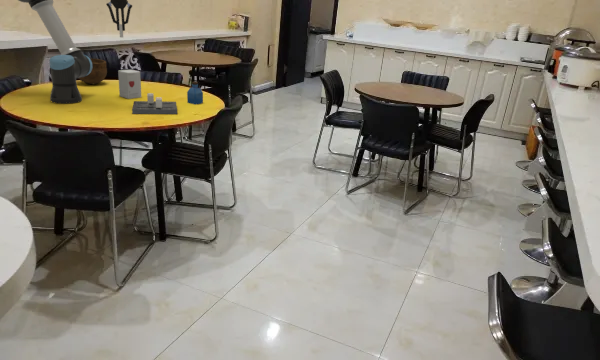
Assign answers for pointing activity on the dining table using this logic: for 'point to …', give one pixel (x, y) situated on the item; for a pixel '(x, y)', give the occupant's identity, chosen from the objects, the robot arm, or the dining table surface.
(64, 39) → the robot arm
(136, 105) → the console
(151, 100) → the fader
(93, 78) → the bowl
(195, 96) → the perfume bottle
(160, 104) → the fader
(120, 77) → the supplement box
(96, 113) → the dining table surface
